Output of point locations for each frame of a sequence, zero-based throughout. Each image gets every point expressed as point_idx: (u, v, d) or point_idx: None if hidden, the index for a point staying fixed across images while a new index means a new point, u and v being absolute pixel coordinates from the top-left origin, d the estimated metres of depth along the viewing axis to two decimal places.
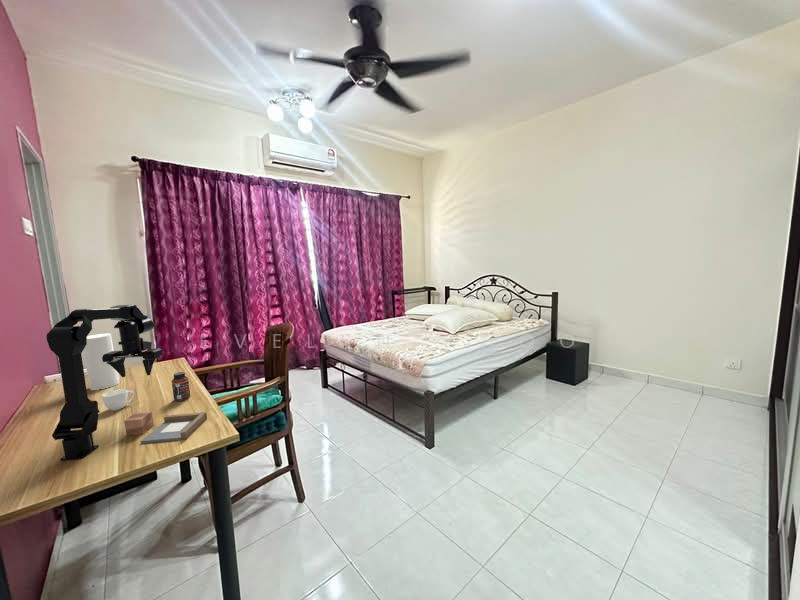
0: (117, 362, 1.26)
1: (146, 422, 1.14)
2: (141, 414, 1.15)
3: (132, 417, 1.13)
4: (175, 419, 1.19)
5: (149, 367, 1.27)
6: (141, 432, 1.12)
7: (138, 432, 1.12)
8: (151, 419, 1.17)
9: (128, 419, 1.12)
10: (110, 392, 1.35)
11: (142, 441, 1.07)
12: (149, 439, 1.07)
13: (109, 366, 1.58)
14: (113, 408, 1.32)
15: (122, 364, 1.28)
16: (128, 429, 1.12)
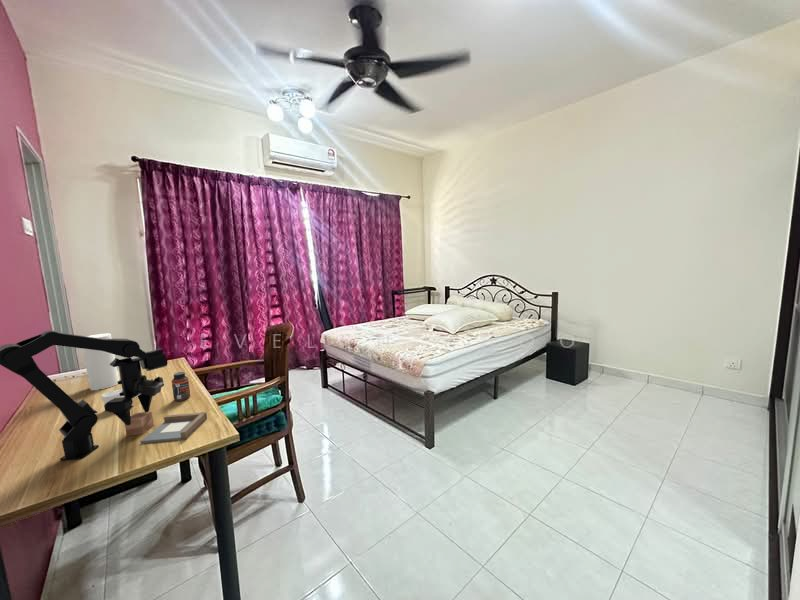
0: (141, 395, 1.18)
1: (146, 422, 1.14)
2: (141, 414, 1.15)
3: (132, 417, 1.13)
4: (175, 419, 1.19)
5: (122, 417, 1.08)
6: (141, 432, 1.12)
7: (138, 432, 1.12)
8: (151, 419, 1.17)
9: None
10: (110, 392, 1.35)
11: (142, 441, 1.07)
12: (149, 439, 1.07)
13: (109, 366, 1.58)
14: None
15: (147, 398, 1.18)
16: (128, 429, 1.12)
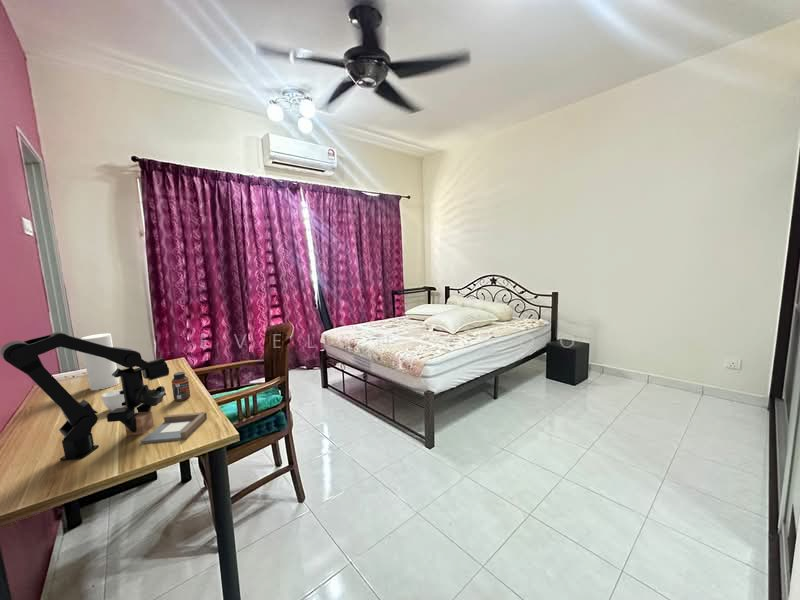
0: (140, 406, 1.17)
1: (146, 422, 1.14)
2: (141, 414, 1.15)
3: None
4: (175, 419, 1.19)
5: (128, 424, 1.10)
6: (141, 432, 1.12)
7: (138, 432, 1.12)
8: (151, 419, 1.17)
9: None
10: (110, 392, 1.35)
11: (142, 441, 1.07)
12: (149, 439, 1.07)
13: (109, 366, 1.58)
14: (113, 408, 1.32)
15: (146, 410, 1.17)
16: (128, 429, 1.12)
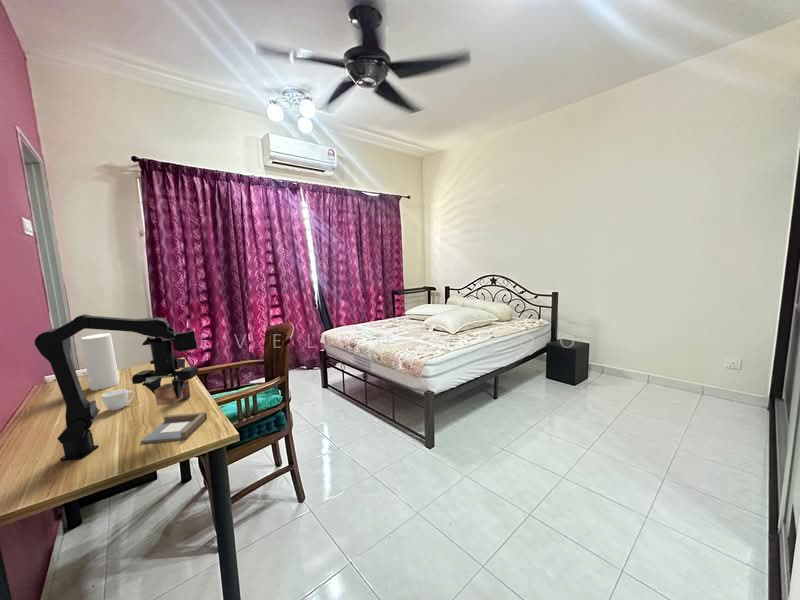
0: (154, 383, 1.11)
1: None
2: (165, 386, 1.13)
3: (167, 387, 1.11)
4: (175, 419, 1.19)
5: (179, 389, 1.12)
6: (182, 396, 1.16)
7: (180, 396, 1.15)
8: None
9: (171, 387, 1.11)
10: (110, 392, 1.35)
11: (142, 441, 1.07)
12: (149, 439, 1.07)
13: (109, 366, 1.58)
14: (113, 408, 1.32)
15: (159, 385, 1.13)
16: (174, 396, 1.12)
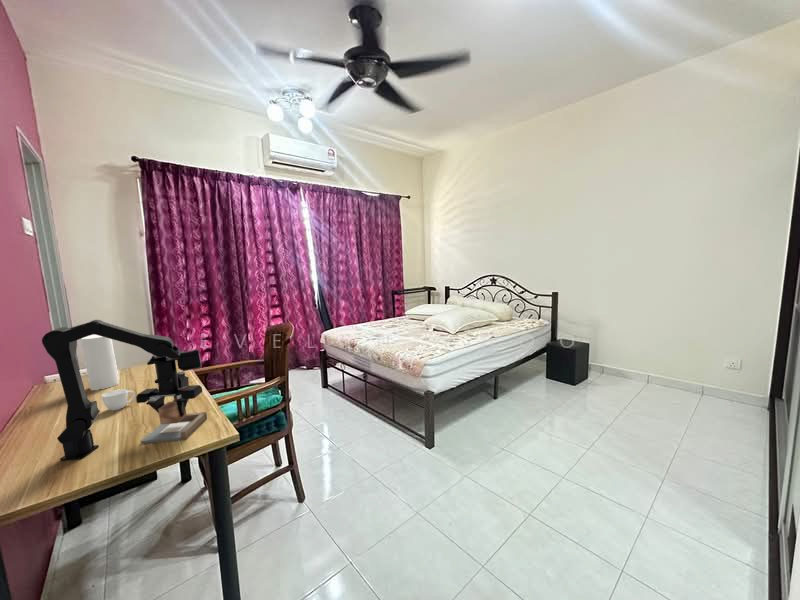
0: (158, 402, 1.11)
1: None
2: (169, 404, 1.14)
3: (171, 406, 1.12)
4: None
5: (183, 407, 1.13)
6: (185, 414, 1.16)
7: None
8: None
9: (174, 406, 1.12)
10: (110, 392, 1.35)
11: (142, 441, 1.07)
12: (149, 439, 1.07)
13: (109, 366, 1.58)
14: (113, 408, 1.32)
15: (162, 403, 1.14)
16: (178, 415, 1.12)
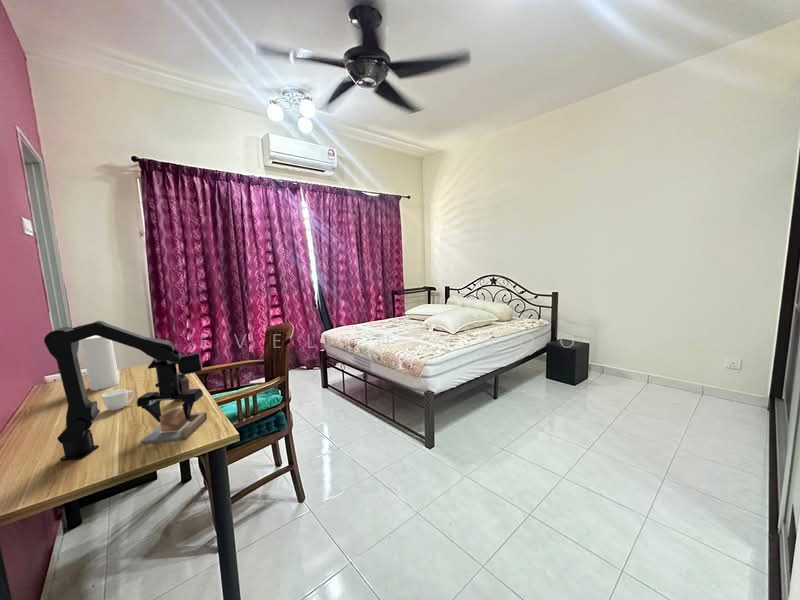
0: (153, 406, 1.12)
1: None
2: (170, 411, 1.14)
3: (172, 413, 1.12)
4: None
5: (189, 411, 1.13)
6: (186, 421, 1.17)
7: (184, 422, 1.16)
8: None
9: (176, 414, 1.12)
10: (110, 392, 1.35)
11: (142, 441, 1.07)
12: (149, 439, 1.07)
13: (109, 366, 1.58)
14: (113, 408, 1.32)
15: (158, 407, 1.14)
16: (179, 422, 1.13)
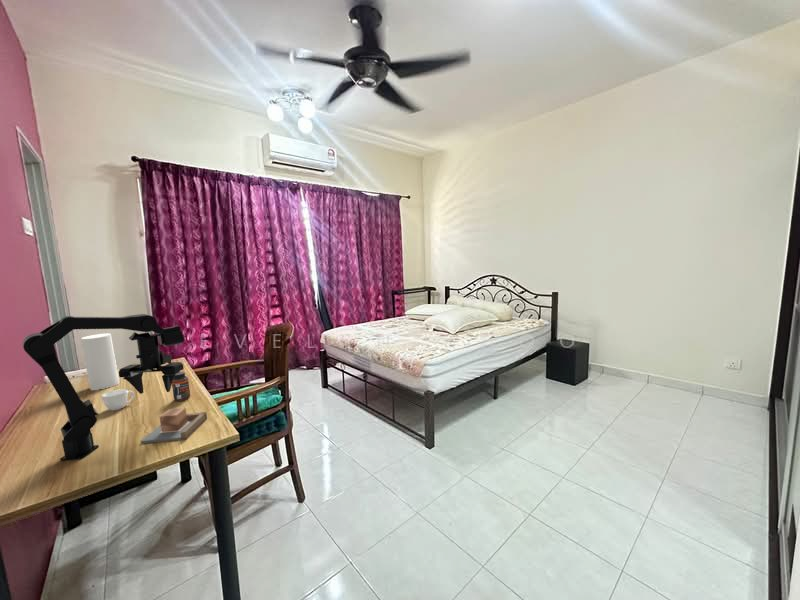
0: (135, 377, 1.14)
1: None
2: (170, 411, 1.14)
3: (172, 413, 1.12)
4: None
5: (169, 383, 1.16)
6: (186, 421, 1.17)
7: (184, 422, 1.16)
8: None
9: (176, 414, 1.12)
10: (110, 392, 1.35)
11: (142, 441, 1.07)
12: (149, 439, 1.07)
13: (109, 366, 1.58)
14: (113, 408, 1.32)
15: (140, 379, 1.16)
16: (179, 422, 1.13)
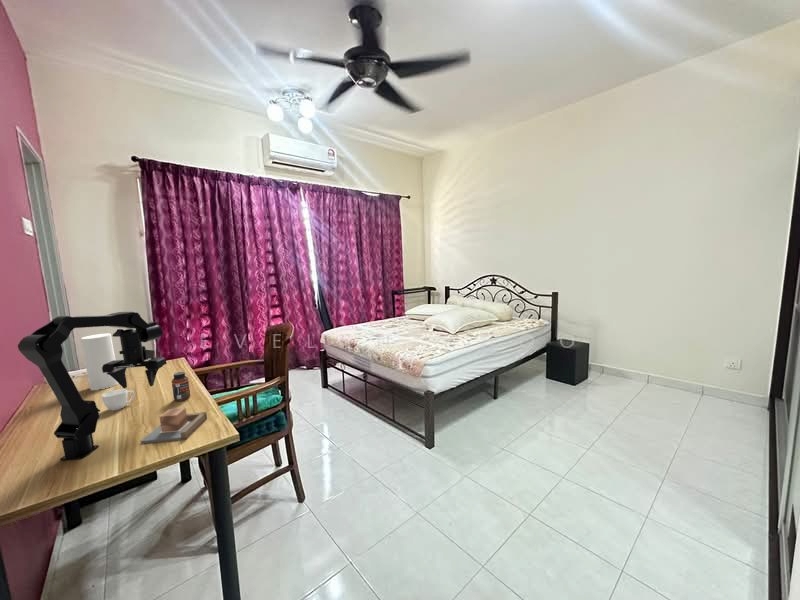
0: (118, 372, 1.18)
1: None
2: (170, 411, 1.14)
3: (172, 413, 1.12)
4: None
5: (152, 377, 1.20)
6: (186, 421, 1.17)
7: (184, 422, 1.16)
8: None
9: (176, 414, 1.12)
10: (110, 392, 1.35)
11: (142, 441, 1.07)
12: (149, 439, 1.07)
13: None
14: (113, 408, 1.32)
15: (123, 374, 1.20)
16: (179, 422, 1.13)
